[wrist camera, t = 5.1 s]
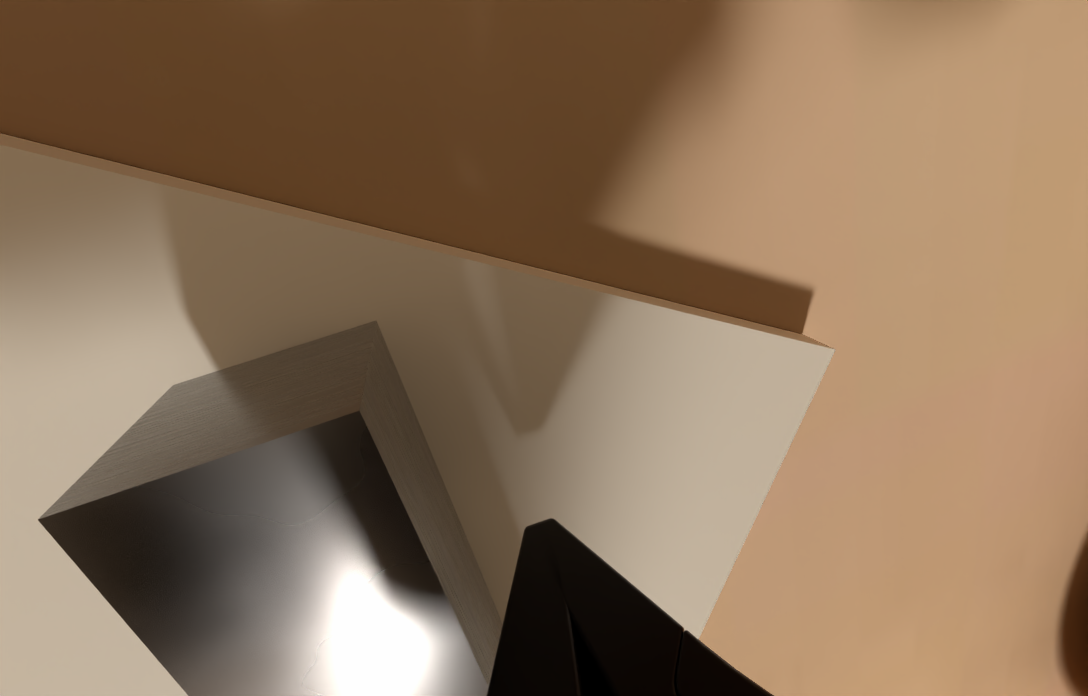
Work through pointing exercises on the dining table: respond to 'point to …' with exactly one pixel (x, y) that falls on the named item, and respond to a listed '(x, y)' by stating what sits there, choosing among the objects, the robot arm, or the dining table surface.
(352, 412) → the bar
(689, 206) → the dining table surface
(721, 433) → the door board
